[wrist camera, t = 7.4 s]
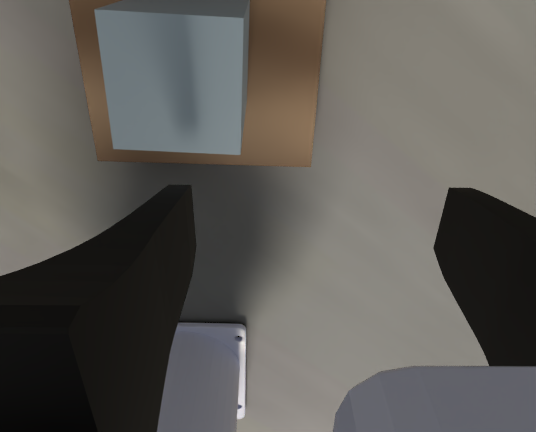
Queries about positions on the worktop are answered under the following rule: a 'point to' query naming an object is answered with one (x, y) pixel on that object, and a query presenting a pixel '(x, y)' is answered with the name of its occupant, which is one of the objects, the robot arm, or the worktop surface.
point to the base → (258, 86)
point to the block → (175, 73)
